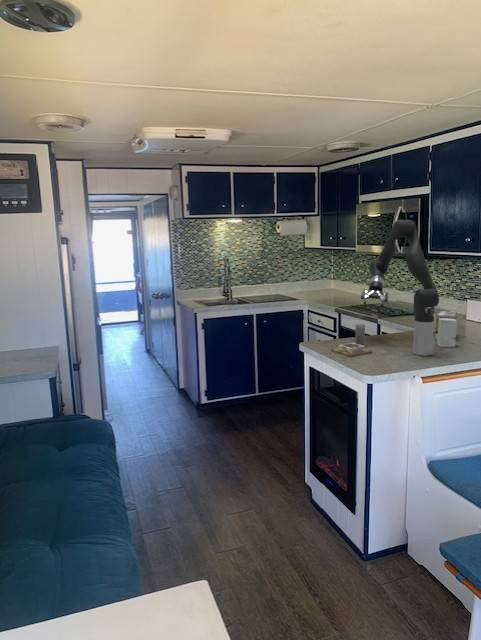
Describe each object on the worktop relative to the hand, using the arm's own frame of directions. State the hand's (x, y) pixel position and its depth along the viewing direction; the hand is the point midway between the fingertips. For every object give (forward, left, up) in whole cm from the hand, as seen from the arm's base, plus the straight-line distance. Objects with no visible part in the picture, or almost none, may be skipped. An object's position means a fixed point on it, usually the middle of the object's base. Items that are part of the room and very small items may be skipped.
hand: (373, 304), depth 259 cm
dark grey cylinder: (+2, +7, -23) cm, 24 cm away
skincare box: (-22, -33, -23) cm, 46 cm away
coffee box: (+6, -49, -23) cm, 55 cm away
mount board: (-5, +19, -23) cm, 30 cm away
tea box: (-9, -49, -23) cm, 55 cm away
